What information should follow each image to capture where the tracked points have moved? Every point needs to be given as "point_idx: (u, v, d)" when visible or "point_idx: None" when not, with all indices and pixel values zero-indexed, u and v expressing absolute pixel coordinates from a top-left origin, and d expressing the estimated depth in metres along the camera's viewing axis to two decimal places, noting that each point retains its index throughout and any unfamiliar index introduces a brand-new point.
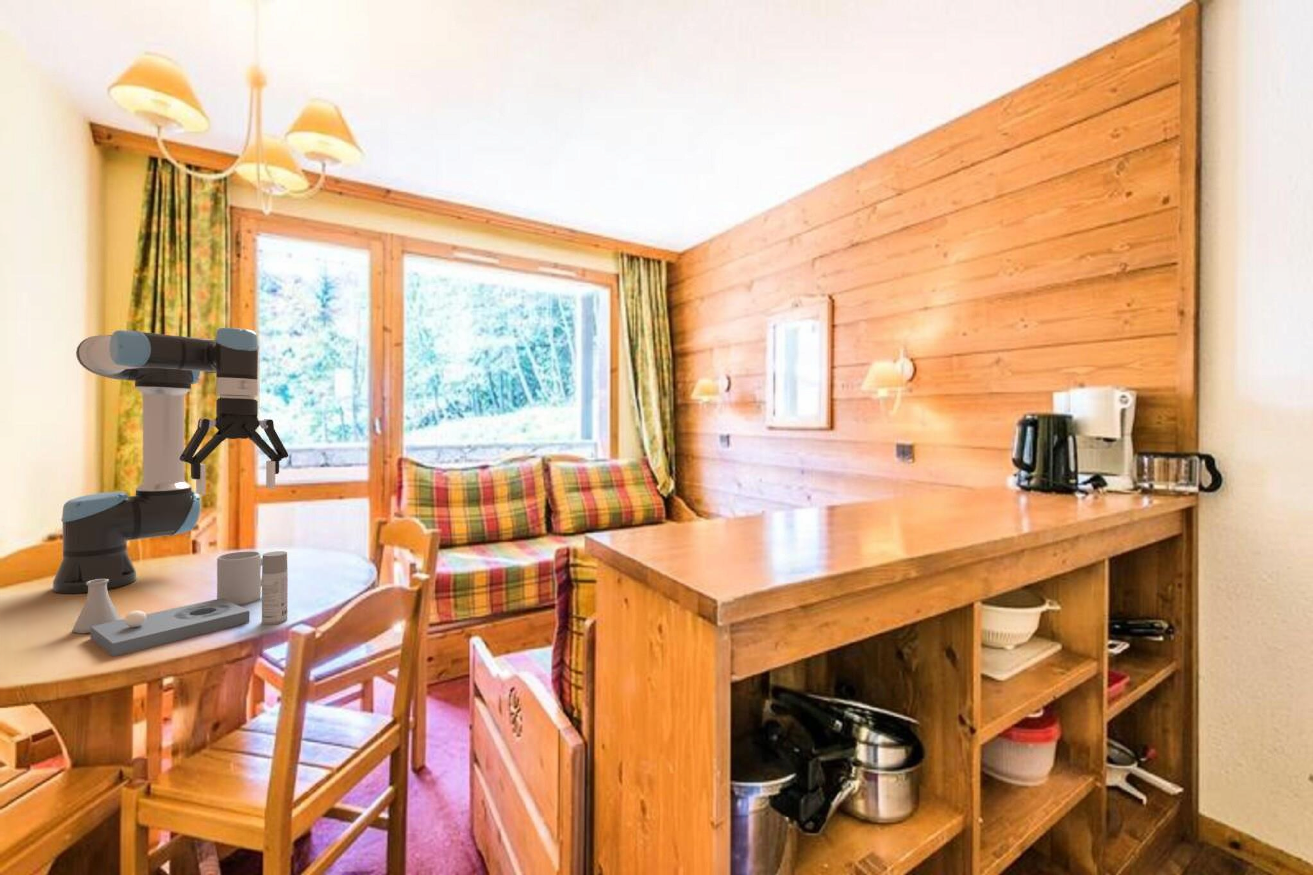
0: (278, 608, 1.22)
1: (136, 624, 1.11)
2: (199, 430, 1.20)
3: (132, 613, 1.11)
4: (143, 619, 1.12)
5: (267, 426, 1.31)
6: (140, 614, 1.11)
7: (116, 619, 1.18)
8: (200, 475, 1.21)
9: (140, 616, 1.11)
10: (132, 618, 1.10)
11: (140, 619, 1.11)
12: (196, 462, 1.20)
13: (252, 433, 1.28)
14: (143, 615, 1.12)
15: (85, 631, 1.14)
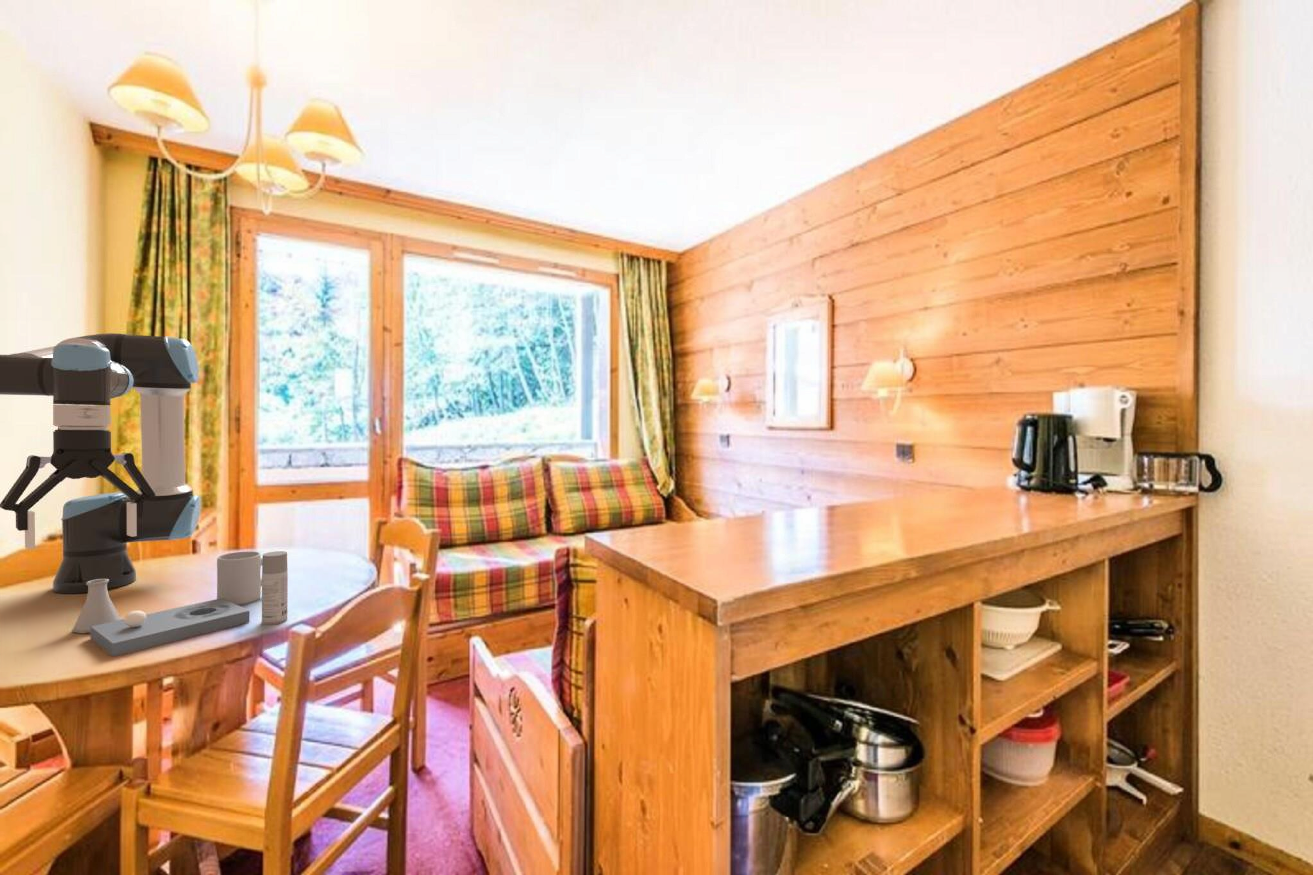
0: (278, 608, 1.22)
1: (136, 624, 1.11)
2: (26, 470, 0.98)
3: (132, 613, 1.11)
4: (143, 619, 1.12)
5: (125, 461, 1.08)
6: (140, 614, 1.11)
7: (116, 619, 1.18)
8: (27, 525, 0.98)
9: (140, 616, 1.11)
10: (132, 618, 1.10)
11: (140, 619, 1.11)
12: (21, 510, 0.97)
13: (103, 471, 1.05)
14: (143, 615, 1.12)
15: (85, 631, 1.14)
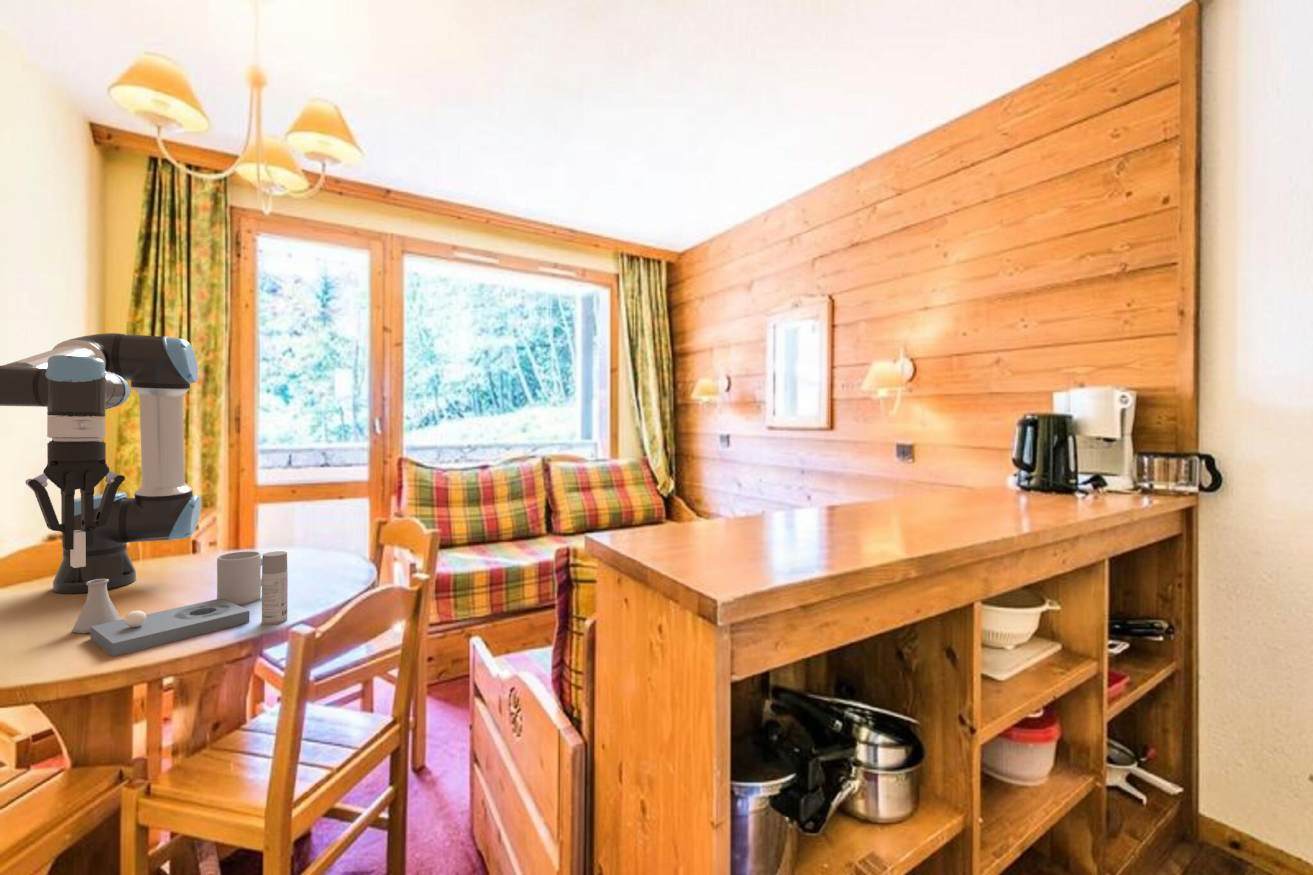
0: (278, 608, 1.22)
1: (136, 624, 1.11)
2: (37, 494, 0.99)
3: (132, 613, 1.11)
4: (143, 619, 1.12)
5: (112, 481, 1.07)
6: (140, 614, 1.11)
7: (116, 619, 1.18)
8: (73, 545, 1.03)
9: (140, 616, 1.11)
10: (132, 618, 1.10)
11: (140, 619, 1.11)
12: (68, 531, 1.02)
13: (87, 484, 1.04)
14: (143, 615, 1.12)
15: (85, 631, 1.14)
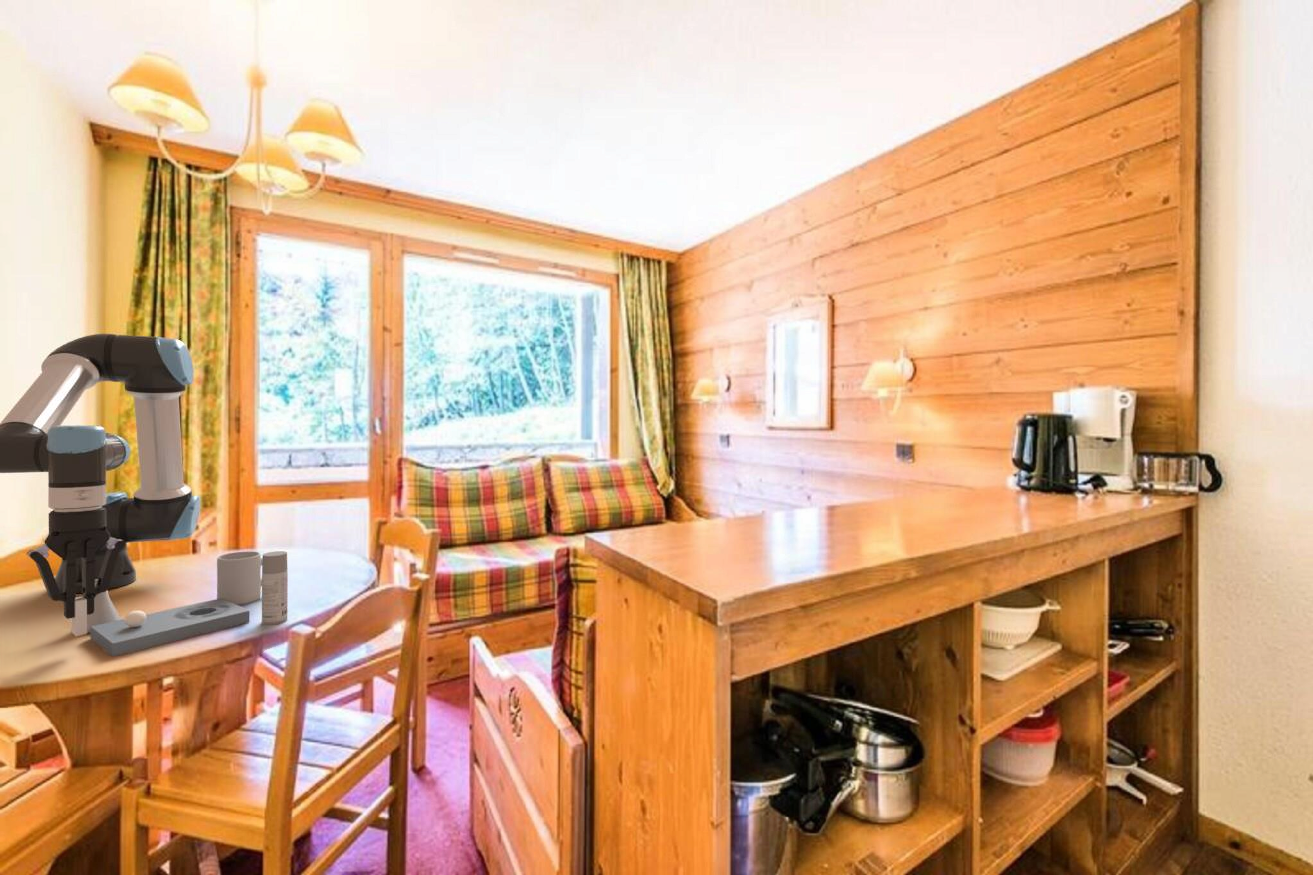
0: (278, 608, 1.22)
1: (136, 624, 1.11)
2: (38, 565, 1.00)
3: (132, 613, 1.11)
4: (143, 619, 1.12)
5: (113, 547, 1.08)
6: (140, 614, 1.11)
7: (116, 619, 1.18)
8: (74, 613, 1.04)
9: (140, 616, 1.11)
10: (132, 618, 1.10)
11: (140, 619, 1.11)
12: (70, 600, 1.03)
13: (88, 553, 1.04)
14: (143, 615, 1.12)
15: None
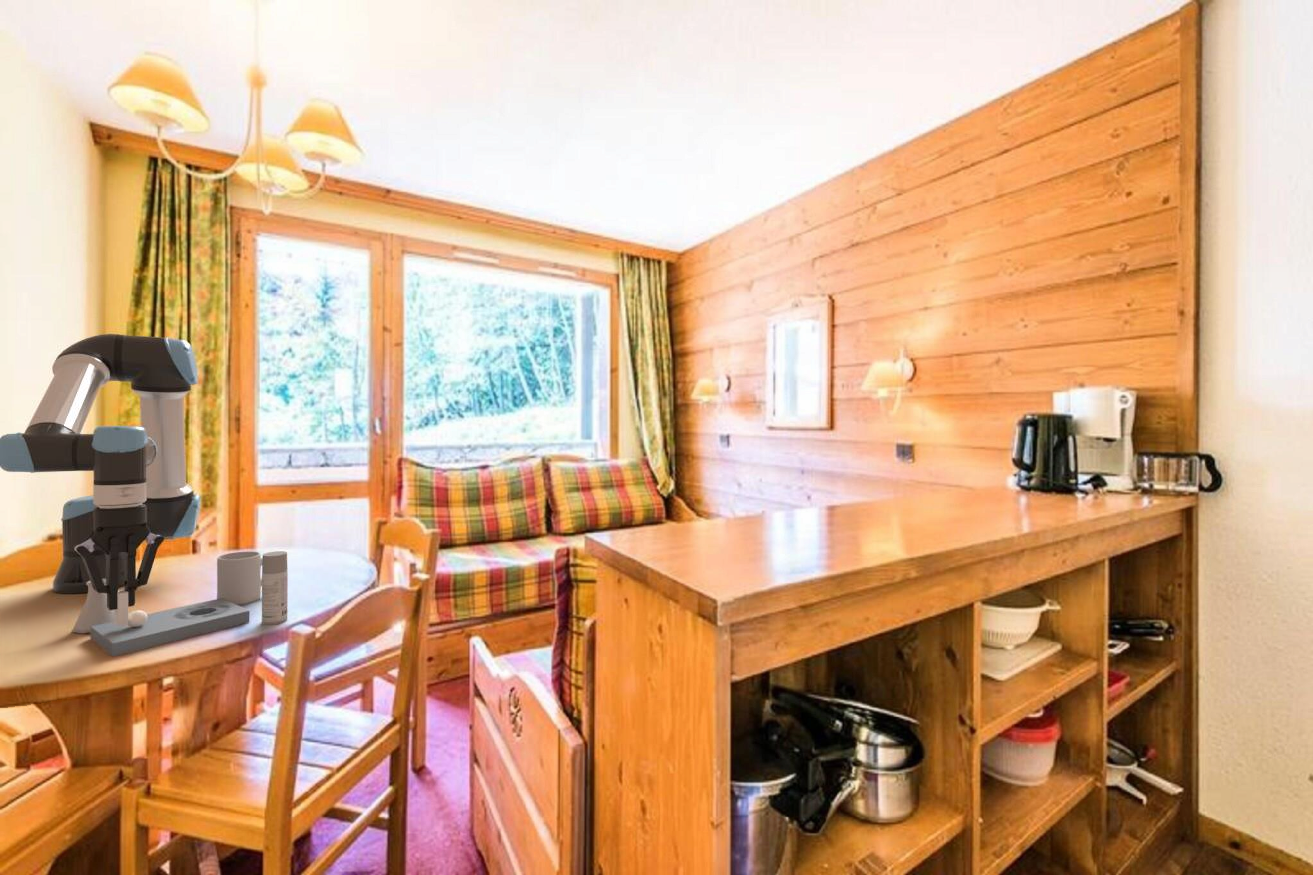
0: (278, 608, 1.22)
1: (137, 624, 1.11)
2: (84, 559, 1.05)
3: (133, 613, 1.11)
4: (144, 619, 1.12)
5: (153, 542, 1.13)
6: (142, 614, 1.12)
7: None
8: (117, 605, 1.09)
9: (141, 616, 1.11)
10: (133, 617, 1.10)
11: (141, 619, 1.11)
12: (113, 592, 1.08)
13: (130, 547, 1.09)
14: (144, 615, 1.12)
15: (85, 631, 1.14)
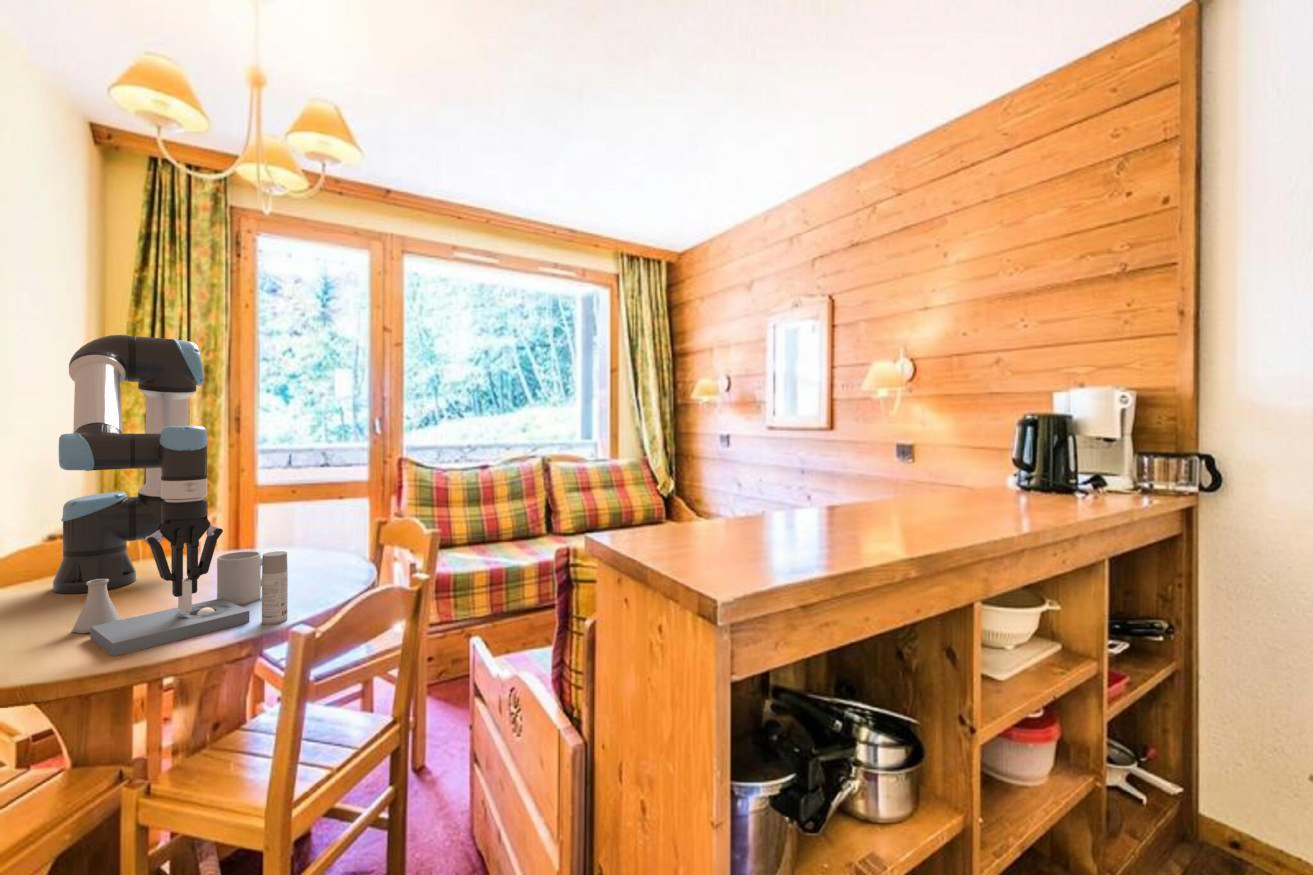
0: (278, 608, 1.22)
1: None
2: (153, 549, 1.13)
3: (211, 608, 1.22)
4: None
5: (213, 534, 1.21)
6: None
7: (116, 619, 1.18)
8: (182, 592, 1.17)
9: None
10: (208, 611, 1.21)
11: None
12: (178, 580, 1.16)
13: (193, 538, 1.18)
14: None
15: (85, 631, 1.14)
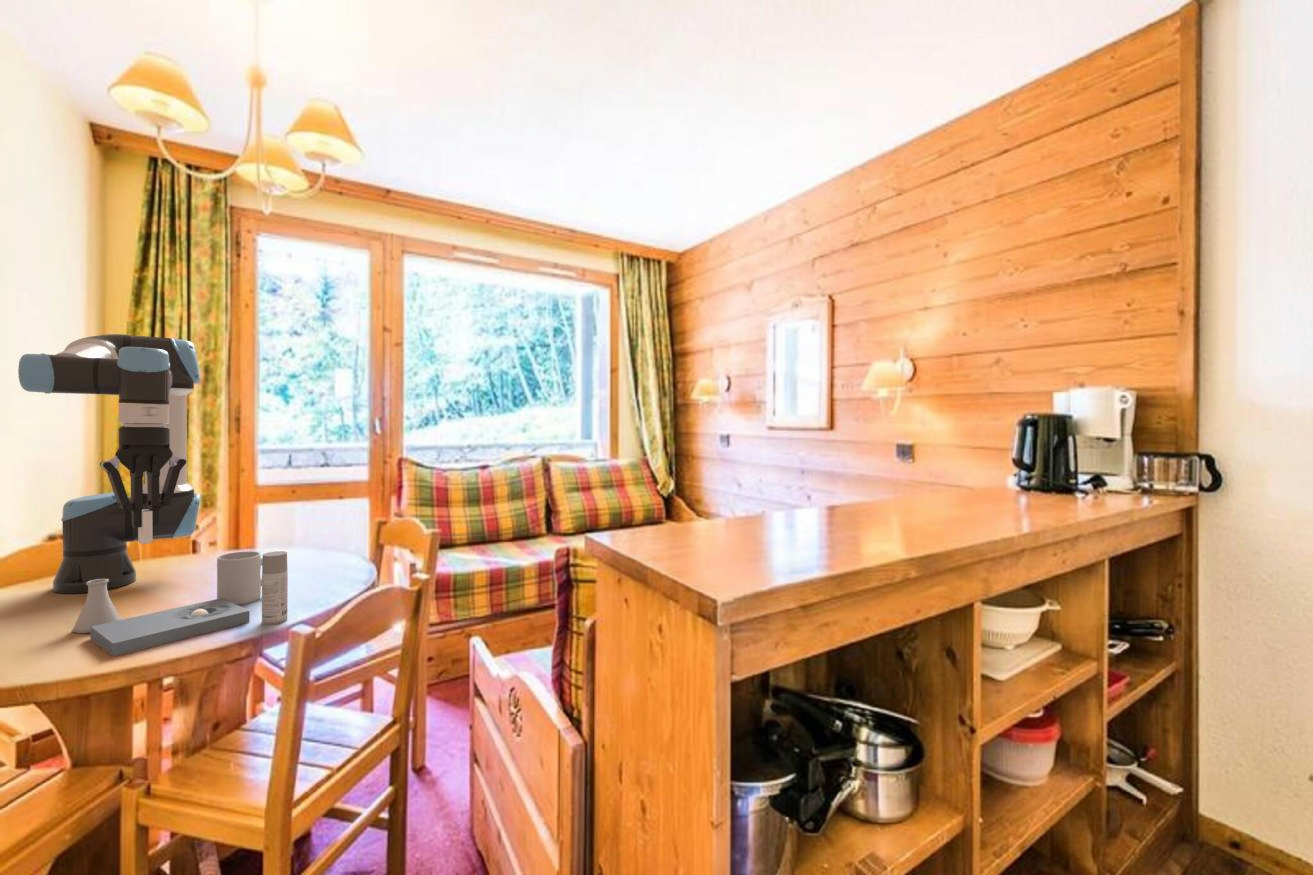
0: (278, 608, 1.22)
1: None
2: (110, 475, 1.07)
3: (198, 610, 1.20)
4: None
5: (175, 464, 1.15)
6: (205, 612, 1.20)
7: (116, 619, 1.18)
8: (141, 523, 1.11)
9: None
10: None
11: None
12: (138, 510, 1.10)
13: (154, 467, 1.12)
14: None
15: (85, 631, 1.14)
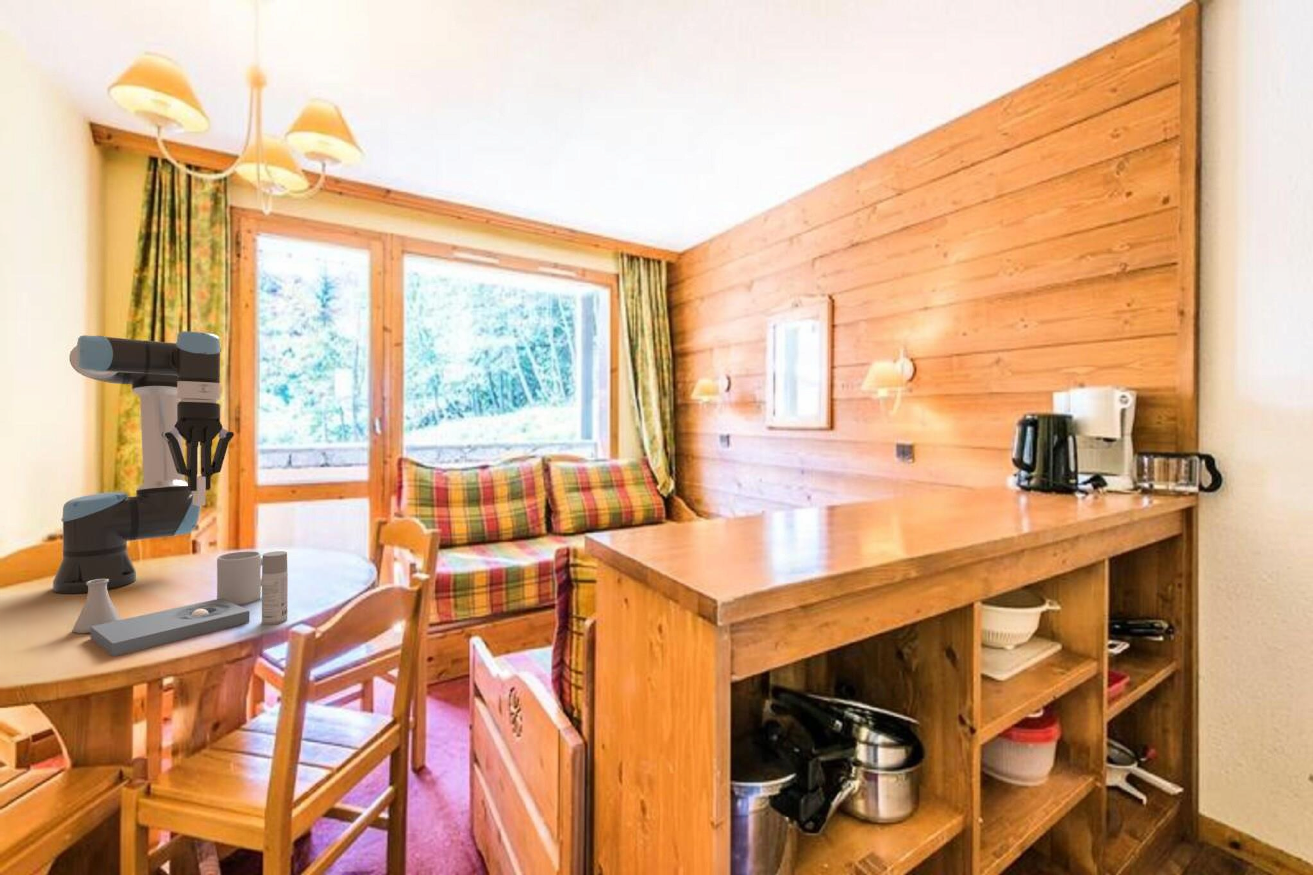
0: (278, 608, 1.22)
1: None
2: (170, 444, 1.22)
3: (199, 610, 1.20)
4: None
5: (225, 436, 1.30)
6: (205, 612, 1.21)
7: (116, 619, 1.18)
8: (196, 487, 1.26)
9: None
10: None
11: None
12: (193, 475, 1.25)
13: (207, 438, 1.27)
14: None
15: (85, 631, 1.14)
